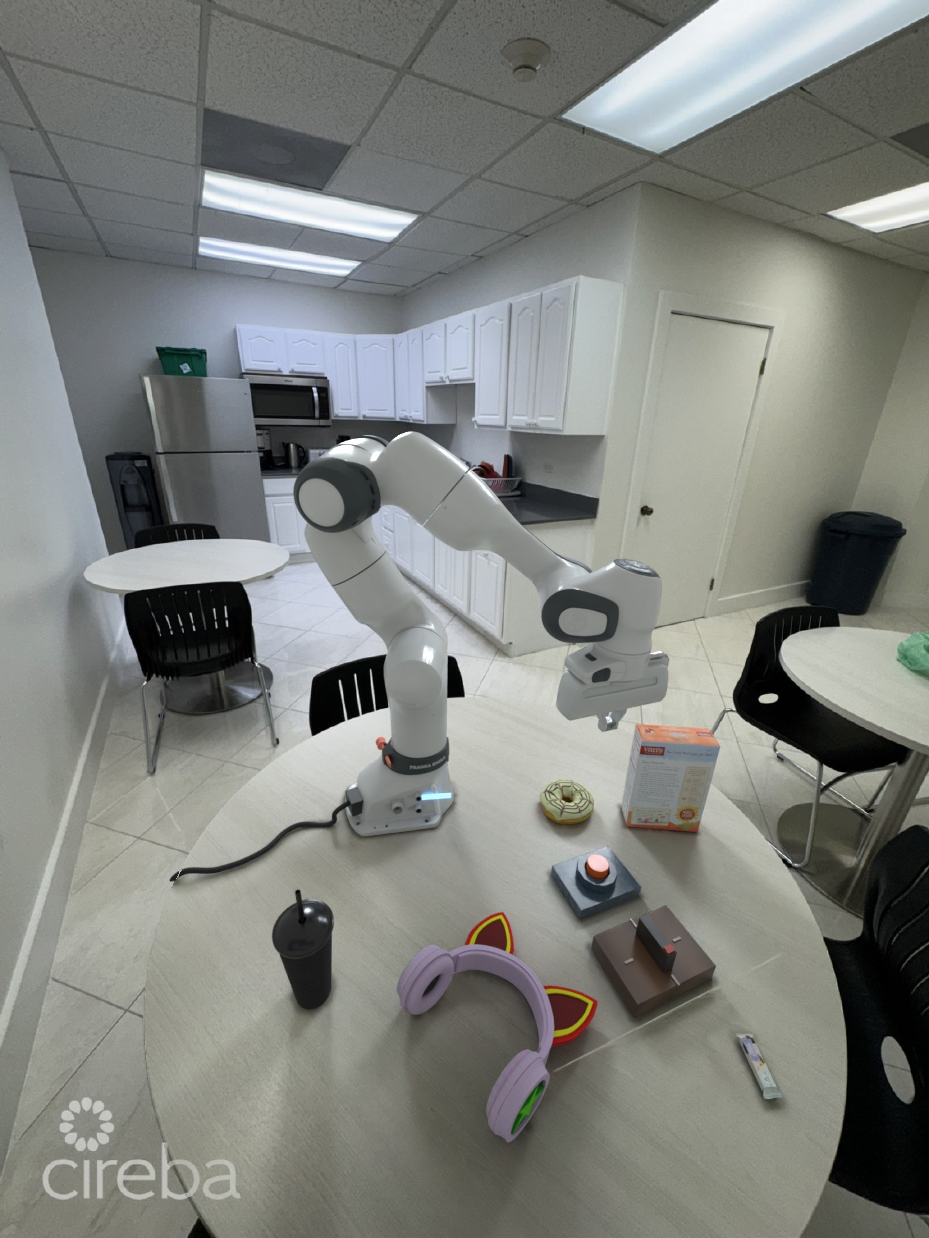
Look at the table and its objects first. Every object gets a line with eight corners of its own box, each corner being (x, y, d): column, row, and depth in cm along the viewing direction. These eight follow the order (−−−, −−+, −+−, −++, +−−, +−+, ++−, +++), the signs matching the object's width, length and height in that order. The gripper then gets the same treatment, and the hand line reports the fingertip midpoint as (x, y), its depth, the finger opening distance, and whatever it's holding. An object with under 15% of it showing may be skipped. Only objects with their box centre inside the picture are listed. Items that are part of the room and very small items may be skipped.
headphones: (389, 977, 63) (495, 873, 75) (399, 1015, 68) (498, 912, 80) (501, 1129, 50) (609, 974, 62) (504, 1163, 55) (604, 1013, 66)
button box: (579, 919, 79) (582, 902, 78) (550, 874, 87) (552, 857, 85) (639, 895, 83) (643, 879, 82) (606, 854, 91) (609, 838, 90)
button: (594, 882, 82) (595, 874, 81) (581, 864, 85) (583, 857, 84) (612, 875, 83) (613, 867, 82) (599, 858, 86) (600, 851, 85)
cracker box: (688, 810, 101) (710, 727, 93) (698, 834, 96) (723, 747, 88) (619, 804, 103) (635, 721, 94) (625, 827, 97) (642, 740, 89)
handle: (635, 933, 74) (639, 916, 73) (643, 929, 75) (648, 912, 73) (663, 972, 69) (668, 955, 68) (672, 968, 70) (677, 951, 68)
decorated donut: (530, 798, 104) (531, 784, 102) (572, 784, 108) (574, 771, 106) (557, 834, 95) (559, 820, 94) (602, 818, 99) (605, 804, 98)
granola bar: (782, 1101, 59) (784, 1096, 58) (763, 1101, 59) (765, 1096, 58) (750, 1035, 65) (752, 1030, 65) (733, 1035, 65) (735, 1030, 65)
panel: (634, 1019, 67) (638, 1005, 65) (590, 947, 75) (593, 934, 74) (712, 979, 71) (717, 965, 70) (662, 917, 80) (666, 903, 79)
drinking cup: (311, 1034, 64) (294, 933, 56) (273, 999, 68) (251, 900, 60) (353, 981, 70) (342, 883, 62) (315, 952, 74) (300, 855, 66)
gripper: (657, 642, 86) (643, 708, 92) (556, 658, 79) (547, 729, 85) (684, 658, 81) (667, 727, 86) (577, 677, 74) (567, 751, 79)
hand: (607, 728), depth 85 cm, fingers closed
